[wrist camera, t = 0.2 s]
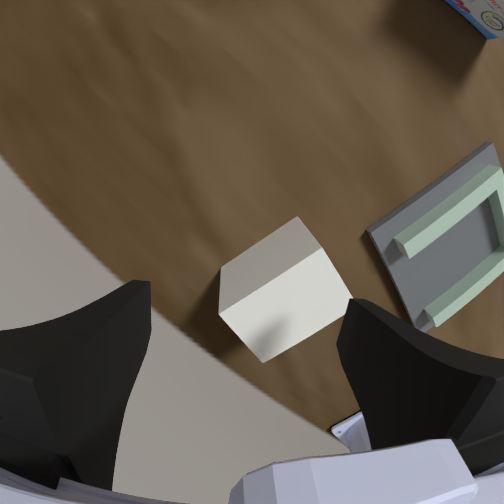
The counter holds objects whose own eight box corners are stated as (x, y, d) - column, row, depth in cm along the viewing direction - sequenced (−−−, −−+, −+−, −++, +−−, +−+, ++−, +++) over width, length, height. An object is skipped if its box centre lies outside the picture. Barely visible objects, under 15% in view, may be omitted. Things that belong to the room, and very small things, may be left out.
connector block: (327, 262, 22) (357, 305, 16) (255, 309, 23) (263, 363, 17) (297, 215, 21) (321, 247, 15) (220, 266, 22) (218, 314, 16)
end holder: (514, 248, 23) (530, 257, 21) (414, 331, 25) (427, 346, 23) (486, 141, 19) (505, 144, 17) (366, 229, 21) (379, 240, 19)
